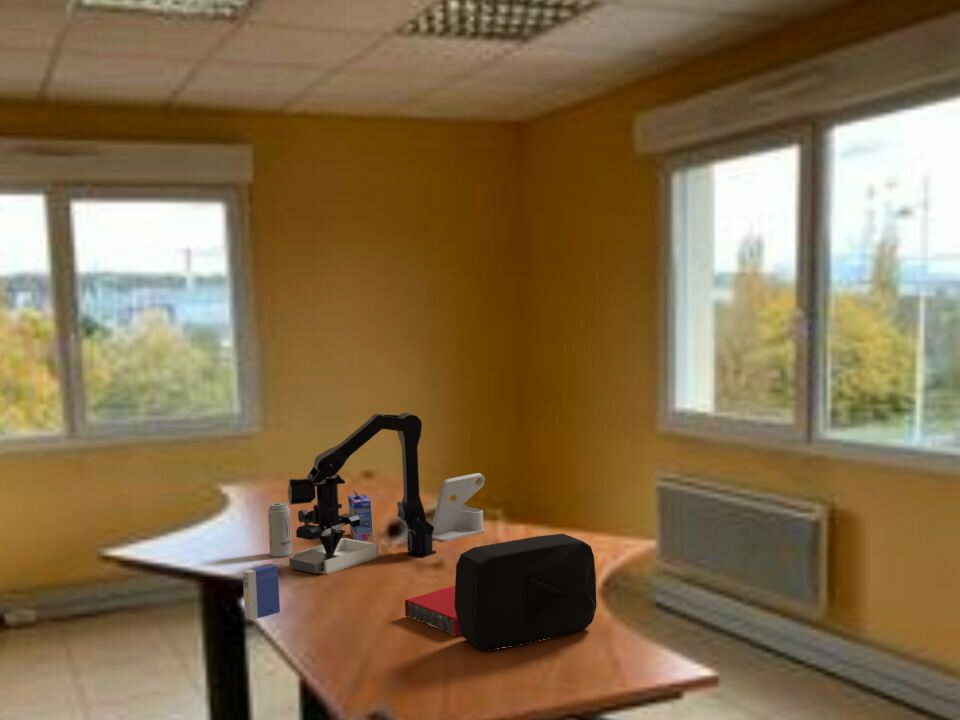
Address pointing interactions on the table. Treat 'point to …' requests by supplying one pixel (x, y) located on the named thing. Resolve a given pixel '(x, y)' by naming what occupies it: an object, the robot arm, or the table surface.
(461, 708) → the table surface
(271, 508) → the energy drink can
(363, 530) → the ink cartridge box
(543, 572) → the black hard case
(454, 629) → the red device housing
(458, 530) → the phone holder
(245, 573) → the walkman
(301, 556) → the cover plate
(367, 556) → the tray
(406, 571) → the table surface
